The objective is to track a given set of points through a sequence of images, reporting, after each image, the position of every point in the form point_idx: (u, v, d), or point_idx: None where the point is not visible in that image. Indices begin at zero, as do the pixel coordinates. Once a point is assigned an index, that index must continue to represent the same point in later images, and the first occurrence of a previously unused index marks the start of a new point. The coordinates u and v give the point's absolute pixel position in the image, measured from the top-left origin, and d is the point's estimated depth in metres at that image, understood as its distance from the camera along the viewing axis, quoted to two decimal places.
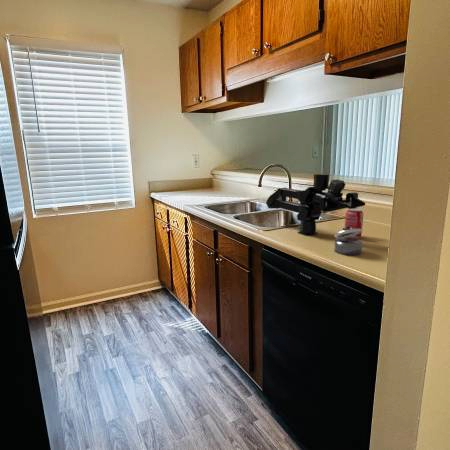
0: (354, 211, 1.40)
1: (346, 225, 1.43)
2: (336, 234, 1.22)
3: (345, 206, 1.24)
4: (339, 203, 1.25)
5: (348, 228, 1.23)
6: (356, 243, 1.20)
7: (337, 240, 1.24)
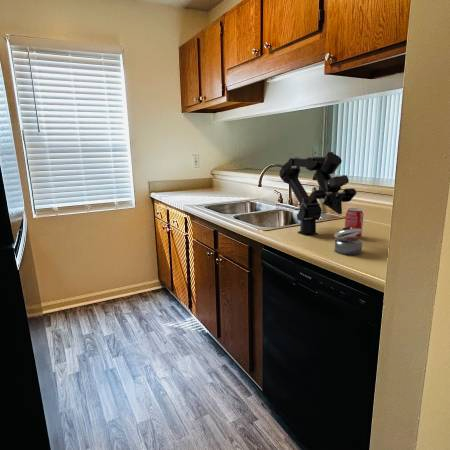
0: (354, 211, 1.40)
1: (346, 225, 1.43)
2: (336, 234, 1.22)
3: (338, 212, 1.27)
4: (335, 206, 1.28)
5: (348, 228, 1.23)
6: (356, 243, 1.20)
7: (337, 240, 1.24)
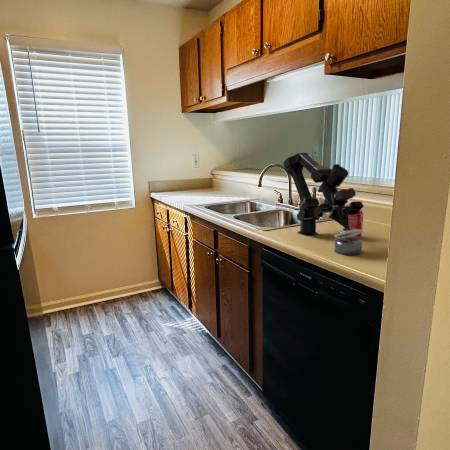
0: None
1: None
2: (336, 234, 1.22)
3: (344, 226, 1.24)
4: (341, 220, 1.24)
5: (348, 228, 1.22)
6: (356, 243, 1.20)
7: (337, 240, 1.24)
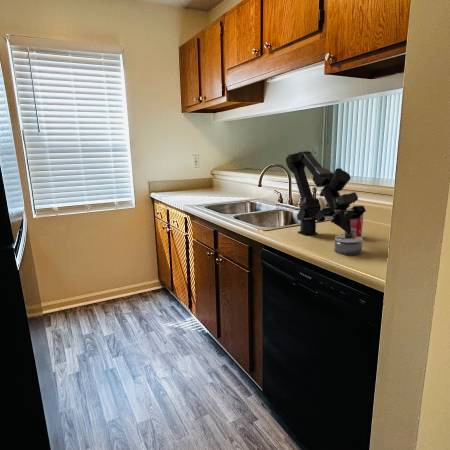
0: None
1: None
2: (337, 239, 1.22)
3: (346, 231, 1.23)
4: (344, 224, 1.23)
5: (350, 235, 1.22)
6: (356, 243, 1.20)
7: None
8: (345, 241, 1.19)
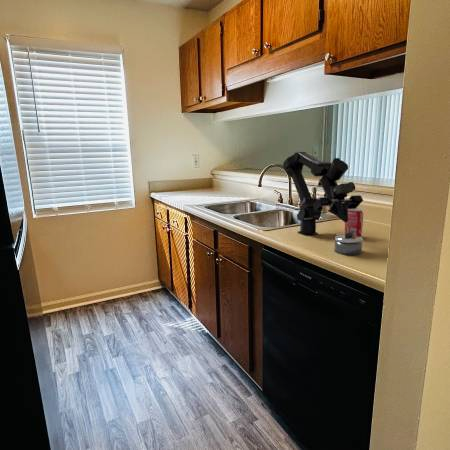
0: (354, 211, 1.40)
1: (346, 225, 1.43)
2: (337, 239, 1.22)
3: (344, 220, 1.24)
4: (341, 214, 1.24)
5: (350, 235, 1.22)
6: (356, 243, 1.20)
7: None
8: (345, 241, 1.19)
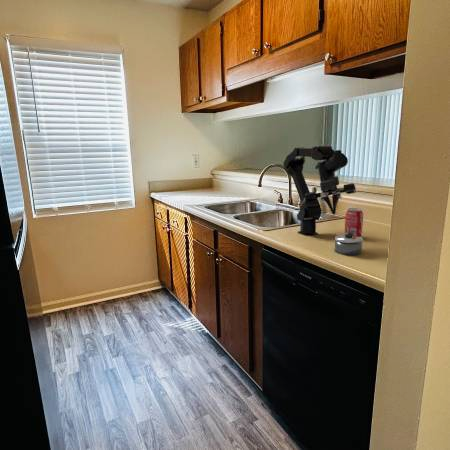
0: (354, 211, 1.40)
1: (346, 225, 1.43)
2: (337, 239, 1.22)
3: (332, 212, 1.31)
4: (329, 207, 1.31)
5: (350, 235, 1.22)
6: (356, 243, 1.20)
7: None
8: (345, 241, 1.19)
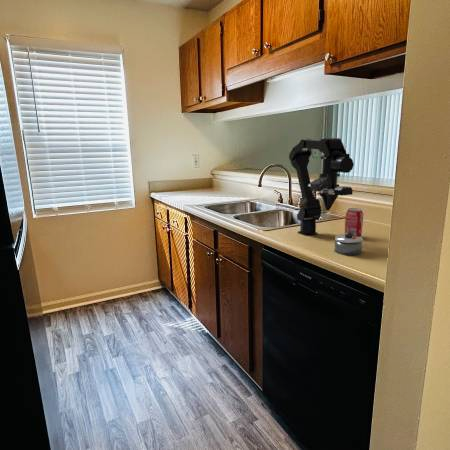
0: (354, 211, 1.40)
1: (346, 225, 1.43)
2: (337, 239, 1.22)
3: None
4: None
5: (350, 235, 1.22)
6: (356, 243, 1.20)
7: None
8: (345, 241, 1.19)
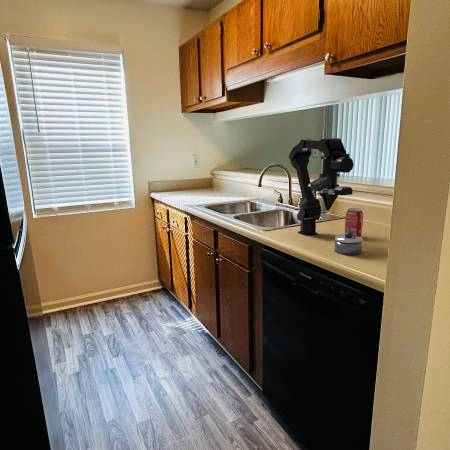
0: (354, 211, 1.40)
1: (346, 225, 1.43)
2: (337, 239, 1.22)
3: None
4: None
5: (350, 235, 1.22)
6: (356, 243, 1.20)
7: None
8: (345, 241, 1.19)
